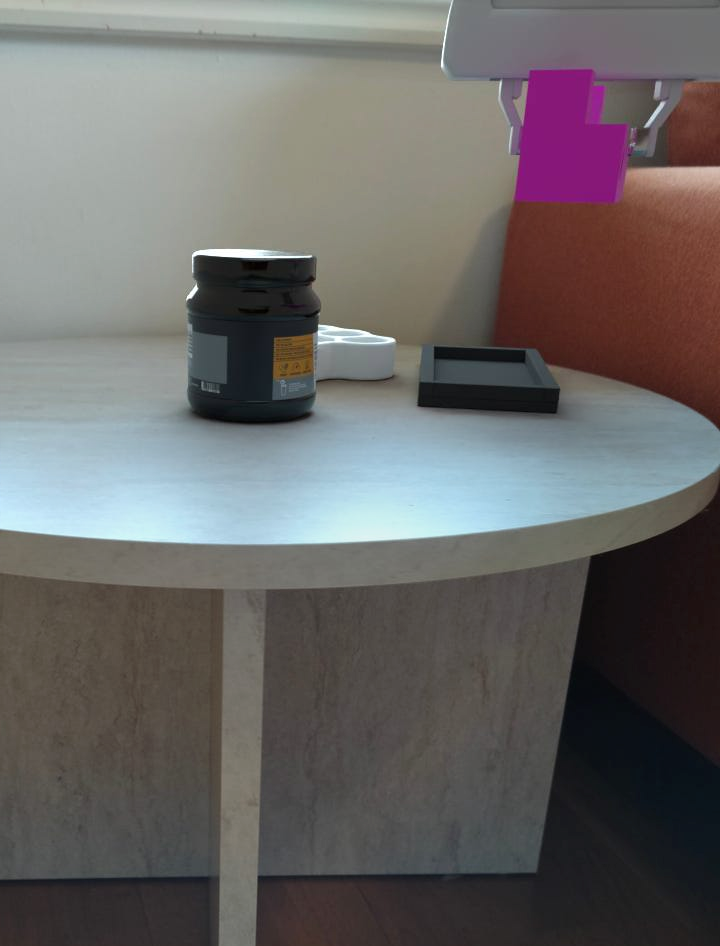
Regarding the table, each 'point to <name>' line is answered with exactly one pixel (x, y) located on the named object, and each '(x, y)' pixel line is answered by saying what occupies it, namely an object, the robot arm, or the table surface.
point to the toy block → (569, 141)
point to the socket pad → (486, 379)
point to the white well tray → (353, 355)
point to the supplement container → (252, 334)
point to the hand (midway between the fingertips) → (579, 156)
